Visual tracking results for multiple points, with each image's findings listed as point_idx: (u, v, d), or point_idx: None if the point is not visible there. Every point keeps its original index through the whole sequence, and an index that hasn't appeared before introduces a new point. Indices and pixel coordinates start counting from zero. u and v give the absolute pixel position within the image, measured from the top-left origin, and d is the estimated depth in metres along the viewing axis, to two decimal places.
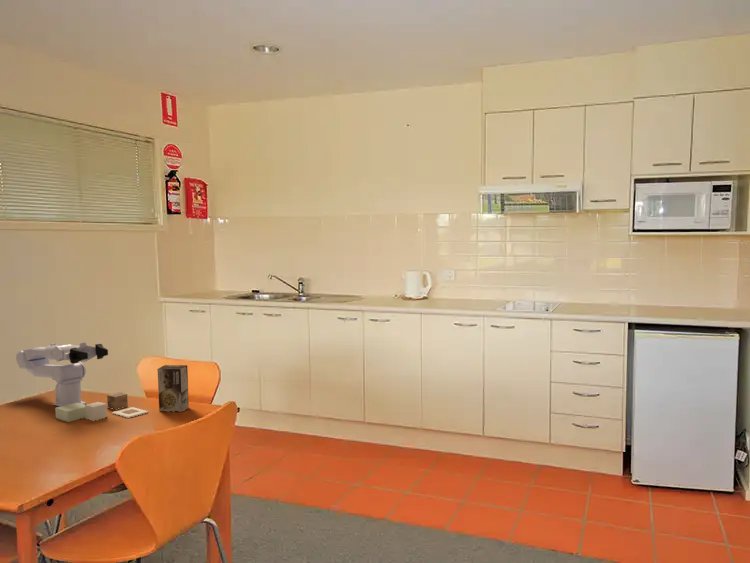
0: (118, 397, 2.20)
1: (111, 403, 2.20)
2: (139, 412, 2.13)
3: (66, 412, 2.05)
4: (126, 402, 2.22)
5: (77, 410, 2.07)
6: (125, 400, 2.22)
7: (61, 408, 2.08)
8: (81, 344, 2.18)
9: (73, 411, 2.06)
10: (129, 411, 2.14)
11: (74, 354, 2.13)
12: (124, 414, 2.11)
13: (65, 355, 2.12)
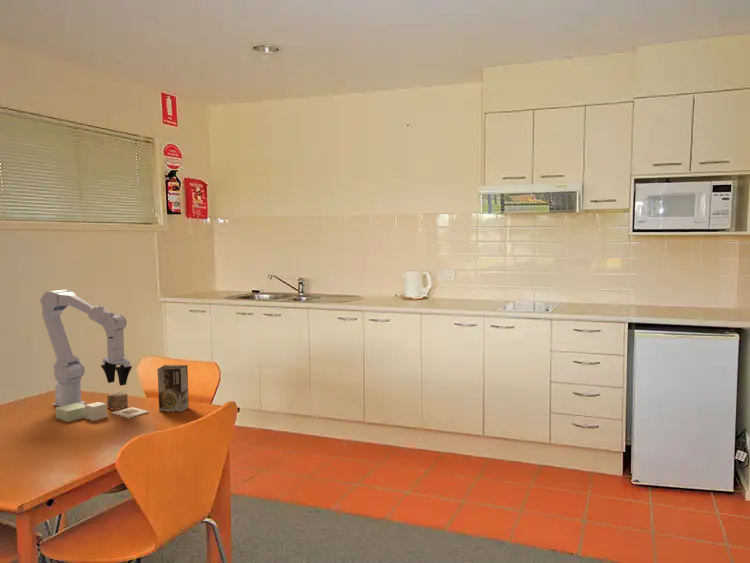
0: (118, 397, 2.20)
1: (111, 403, 2.20)
2: (139, 412, 2.13)
3: (66, 412, 2.05)
4: (126, 402, 2.22)
5: (77, 410, 2.07)
6: (125, 400, 2.22)
7: (61, 408, 2.08)
8: (125, 359, 2.23)
9: (73, 411, 2.06)
10: (129, 411, 2.14)
11: None
12: (124, 414, 2.11)
13: (128, 364, 2.17)
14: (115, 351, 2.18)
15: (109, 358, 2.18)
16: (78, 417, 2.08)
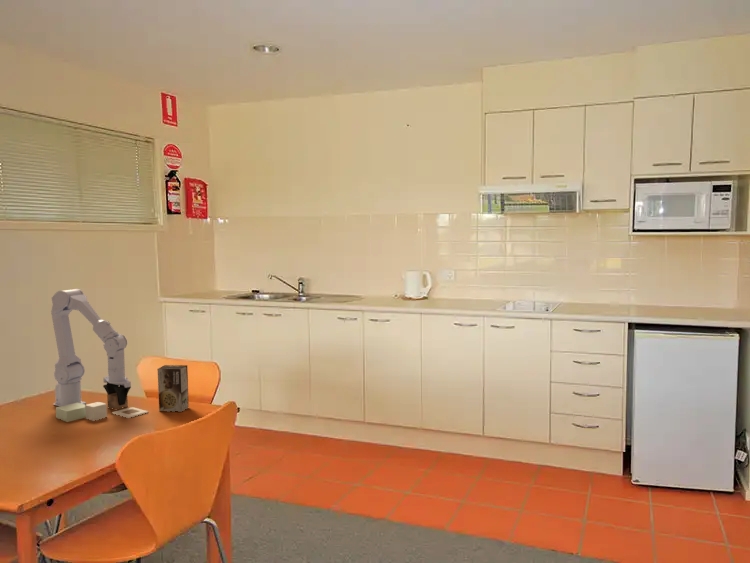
0: None
1: (111, 403, 2.20)
2: (139, 412, 2.13)
3: (65, 412, 2.05)
4: (126, 402, 2.22)
5: (76, 410, 2.07)
6: None
7: (61, 408, 2.08)
8: None
9: (72, 411, 2.06)
10: (129, 411, 2.14)
11: None
12: (124, 414, 2.11)
13: (129, 385, 2.18)
14: (116, 371, 2.19)
15: (110, 378, 2.19)
16: (78, 417, 2.08)
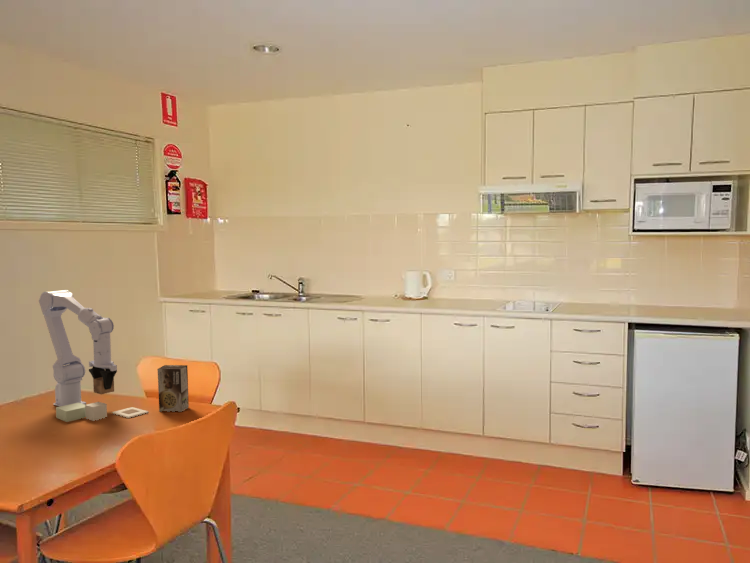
0: None
1: (98, 387, 2.16)
2: (139, 412, 2.13)
3: (65, 412, 2.05)
4: (112, 386, 2.18)
5: (76, 410, 2.07)
6: None
7: (61, 408, 2.08)
8: (112, 363, 2.20)
9: (72, 411, 2.06)
10: (129, 411, 2.14)
11: None
12: (124, 414, 2.11)
13: (115, 368, 2.14)
14: (101, 355, 2.14)
15: (95, 362, 2.15)
16: (77, 417, 2.07)
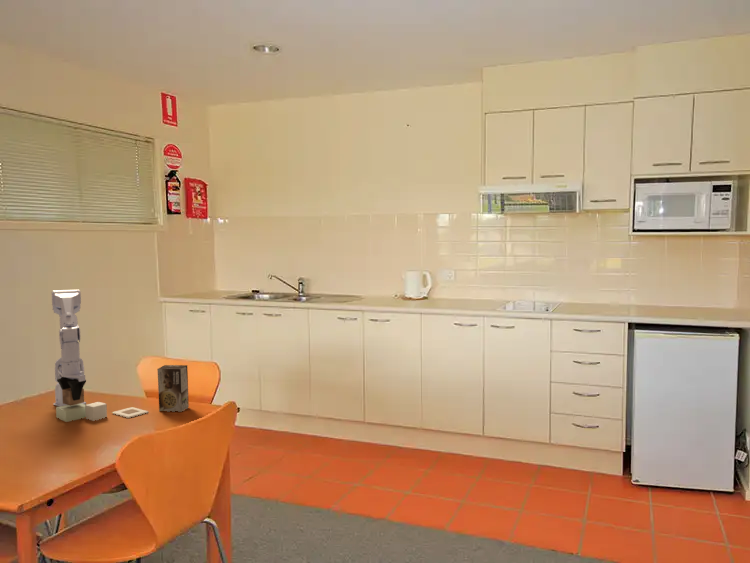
0: None
1: (66, 398, 2.08)
2: (139, 412, 2.13)
3: (64, 412, 2.05)
4: (82, 397, 2.10)
5: (76, 410, 2.07)
6: (81, 395, 2.10)
7: (61, 408, 2.08)
8: (81, 373, 2.11)
9: (72, 411, 2.06)
10: (129, 411, 2.14)
11: None
12: (124, 414, 2.11)
13: (83, 379, 2.05)
14: (69, 364, 2.06)
15: (63, 372, 2.06)
16: (77, 417, 2.07)
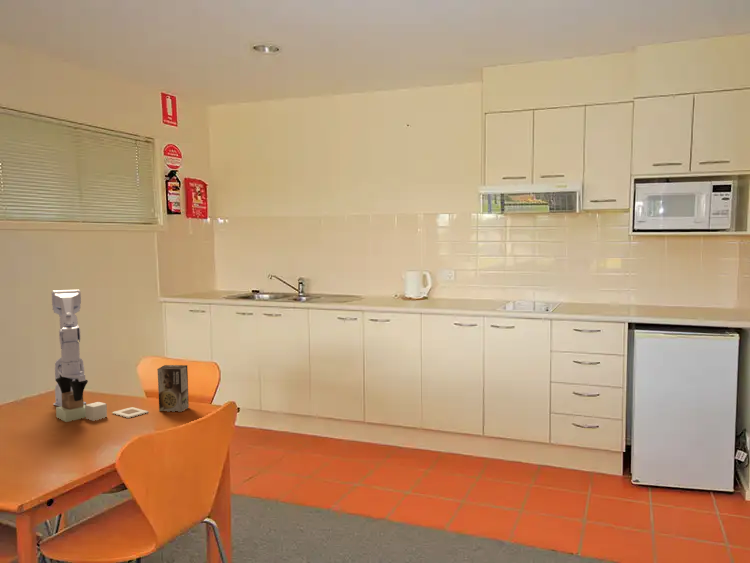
0: (73, 395, 2.07)
1: (66, 402, 2.08)
2: (139, 412, 2.13)
3: (64, 412, 2.05)
4: (82, 401, 2.10)
5: (76, 410, 2.07)
6: (81, 399, 2.10)
7: (61, 408, 2.08)
8: (81, 373, 2.11)
9: (71, 411, 2.06)
10: (129, 411, 2.14)
11: None
12: (124, 414, 2.11)
13: (83, 379, 2.05)
14: (70, 364, 2.06)
15: (63, 372, 2.06)
16: (77, 417, 2.07)
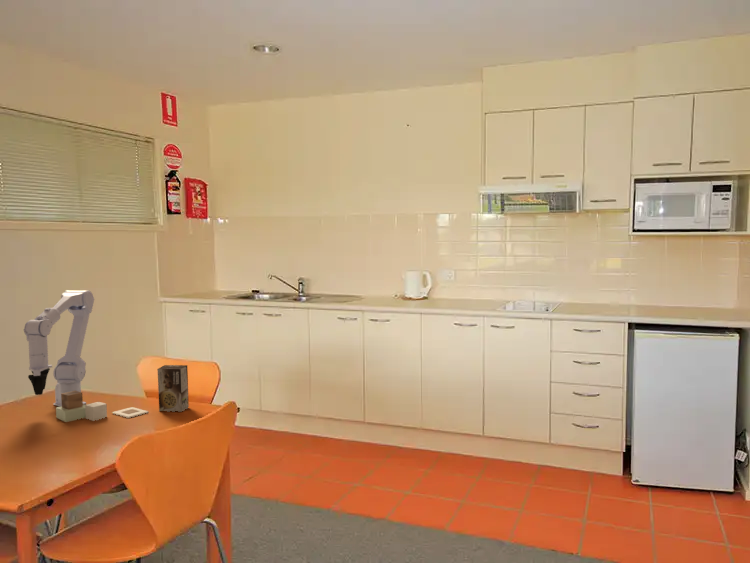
0: (72, 395, 2.07)
1: (65, 402, 2.08)
2: (139, 412, 2.13)
3: (64, 412, 2.04)
4: (81, 401, 2.10)
5: (75, 411, 2.07)
6: (80, 399, 2.10)
7: (61, 408, 2.08)
8: None
9: (71, 411, 2.06)
10: (129, 411, 2.14)
11: None
12: (124, 414, 2.11)
13: (38, 374, 2.01)
14: (32, 357, 2.04)
15: None
16: (77, 418, 2.07)
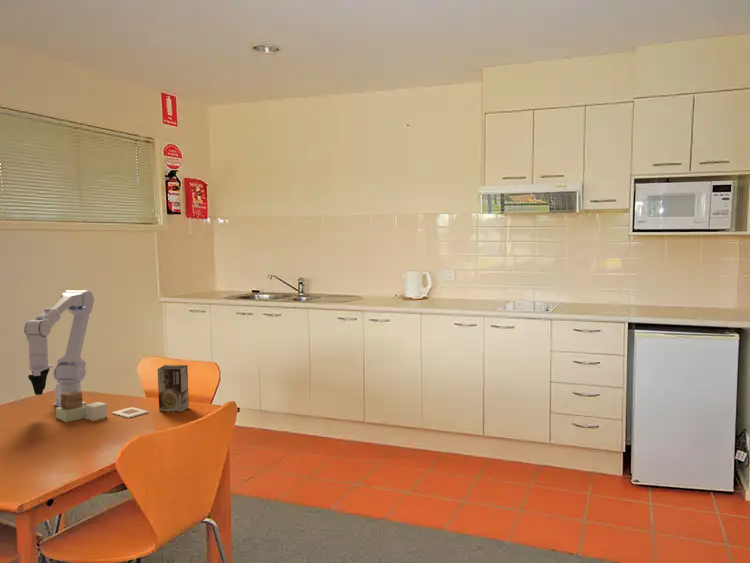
0: (72, 395, 2.07)
1: (65, 402, 2.07)
2: (139, 412, 2.13)
3: (64, 412, 2.04)
4: (81, 401, 2.10)
5: (75, 411, 2.07)
6: (80, 399, 2.10)
7: (61, 408, 2.08)
8: None
9: (71, 412, 2.06)
10: (129, 411, 2.14)
11: None
12: (124, 414, 2.11)
13: (38, 374, 2.01)
14: (32, 357, 2.04)
15: None
16: (77, 418, 2.07)
